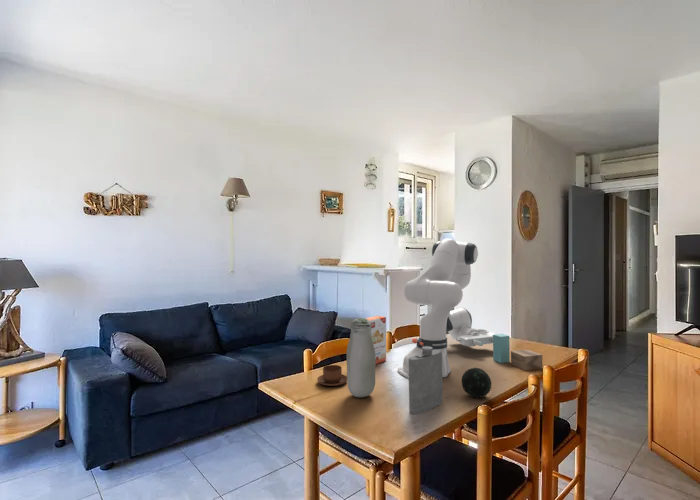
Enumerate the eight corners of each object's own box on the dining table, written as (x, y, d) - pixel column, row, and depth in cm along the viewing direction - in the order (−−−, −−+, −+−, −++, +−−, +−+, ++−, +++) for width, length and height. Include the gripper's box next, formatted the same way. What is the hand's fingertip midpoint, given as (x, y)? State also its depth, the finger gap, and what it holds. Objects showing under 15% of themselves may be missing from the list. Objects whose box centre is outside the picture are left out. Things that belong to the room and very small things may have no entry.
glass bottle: (359, 403, 133) (358, 322, 133) (342, 394, 141) (341, 318, 141) (381, 396, 139) (380, 318, 139) (363, 388, 147) (362, 314, 147)
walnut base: (525, 370, 166) (524, 356, 166) (511, 364, 175) (510, 351, 175) (542, 368, 168) (542, 354, 168) (527, 362, 177) (527, 349, 177)
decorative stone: (467, 389, 145) (466, 362, 145) (494, 395, 139) (494, 367, 139) (457, 398, 137) (457, 369, 137) (486, 404, 131) (486, 374, 131)
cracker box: (367, 367, 172) (366, 320, 172) (357, 365, 177) (356, 319, 176) (387, 360, 182) (386, 316, 182) (377, 358, 187) (376, 315, 186)
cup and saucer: (311, 382, 155) (311, 367, 155) (335, 376, 163) (334, 361, 163) (329, 391, 146) (329, 374, 146) (353, 383, 153) (353, 368, 153)
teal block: (500, 363, 176) (500, 336, 176) (493, 360, 181) (492, 334, 181) (509, 362, 178) (509, 335, 178) (501, 359, 182) (501, 333, 182)
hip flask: (436, 398, 137) (435, 341, 136) (446, 402, 134) (445, 343, 133) (407, 412, 126) (406, 350, 126) (417, 415, 123) (416, 352, 123)
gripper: (454, 332, 196) (471, 338, 183) (487, 329, 203) (506, 334, 190) (454, 345, 196) (471, 351, 183) (487, 341, 203) (506, 347, 190)
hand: (489, 343), depth 186 cm, fingers open, 8 cm apart
